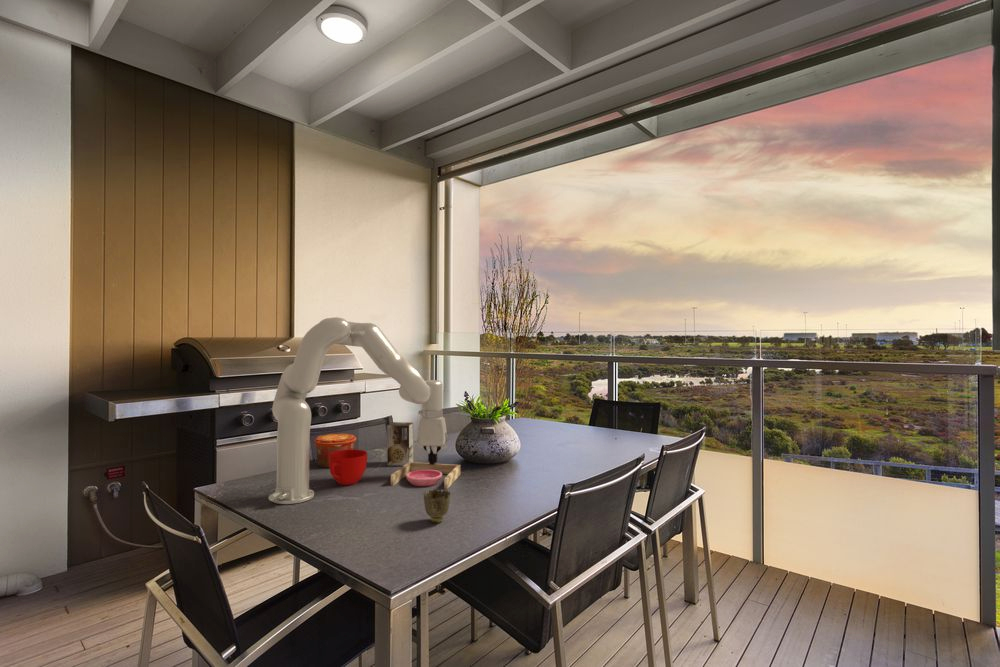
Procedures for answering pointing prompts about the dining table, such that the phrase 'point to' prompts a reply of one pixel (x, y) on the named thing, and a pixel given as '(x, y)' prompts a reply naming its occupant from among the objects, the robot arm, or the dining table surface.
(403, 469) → the oak cubby
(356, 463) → the ceramic cup
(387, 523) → the dining table surface
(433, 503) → the cup
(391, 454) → the coffee box
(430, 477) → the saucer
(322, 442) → the food container
